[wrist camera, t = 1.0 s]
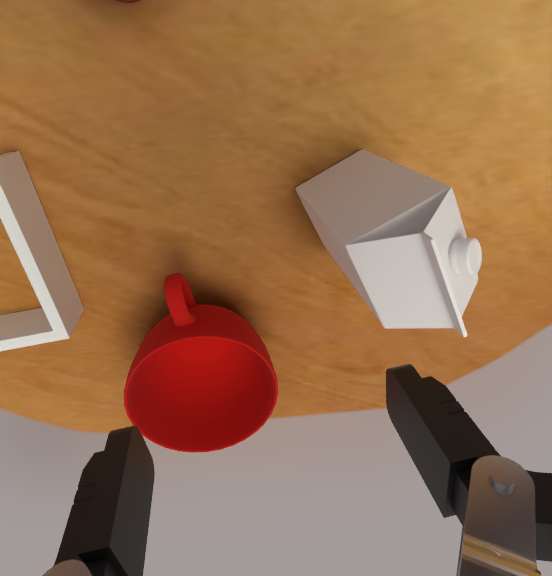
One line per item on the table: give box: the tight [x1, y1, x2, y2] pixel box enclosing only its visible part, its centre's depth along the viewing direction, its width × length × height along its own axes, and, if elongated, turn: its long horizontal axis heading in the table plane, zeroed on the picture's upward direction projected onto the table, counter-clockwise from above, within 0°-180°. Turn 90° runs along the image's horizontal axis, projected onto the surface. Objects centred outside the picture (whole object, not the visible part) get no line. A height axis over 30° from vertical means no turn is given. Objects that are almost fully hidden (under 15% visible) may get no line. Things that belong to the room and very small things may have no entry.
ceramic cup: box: [124, 273, 278, 452], centre depth 37 cm, size 13×17×10 cm
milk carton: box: [295, 149, 482, 337], centre depth 30 cm, size 7×7×19 cm
